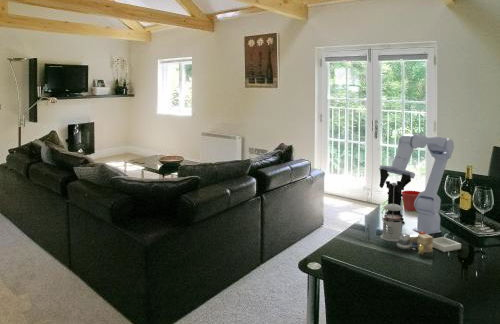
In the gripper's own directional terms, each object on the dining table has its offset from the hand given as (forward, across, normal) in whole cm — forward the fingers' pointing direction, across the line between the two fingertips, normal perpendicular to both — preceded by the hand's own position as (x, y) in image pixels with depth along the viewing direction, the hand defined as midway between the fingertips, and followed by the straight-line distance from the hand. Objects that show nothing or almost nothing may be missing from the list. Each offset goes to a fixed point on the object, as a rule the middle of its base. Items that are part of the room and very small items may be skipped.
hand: (389, 189), depth 161 cm
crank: (+15, +11, +16) cm, 24 cm away
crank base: (+19, +12, +13) cm, 26 cm away
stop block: (+16, +16, +16) cm, 28 cm away
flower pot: (-11, -12, +65) cm, 67 cm away
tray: (+11, +21, +23) cm, 33 cm away
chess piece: (+4, -10, +42) cm, 43 cm away
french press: (+15, -1, +22) cm, 27 cm away
